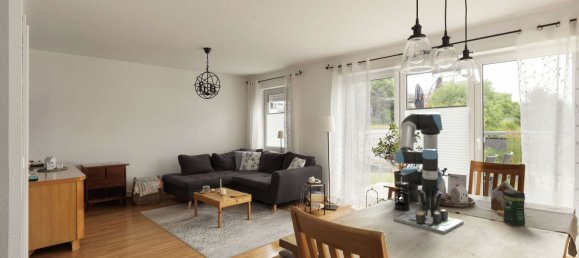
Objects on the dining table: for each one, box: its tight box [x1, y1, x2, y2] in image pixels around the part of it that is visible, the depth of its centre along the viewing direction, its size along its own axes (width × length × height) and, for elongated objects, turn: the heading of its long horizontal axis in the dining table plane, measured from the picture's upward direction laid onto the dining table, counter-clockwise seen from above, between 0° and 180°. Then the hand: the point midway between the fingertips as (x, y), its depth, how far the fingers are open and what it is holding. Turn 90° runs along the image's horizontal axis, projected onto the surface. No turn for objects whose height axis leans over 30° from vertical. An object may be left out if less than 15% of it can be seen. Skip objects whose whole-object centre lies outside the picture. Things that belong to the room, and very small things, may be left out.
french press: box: [393, 172, 411, 212], centre depth 193 cm, size 12×9×23 cm
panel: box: [393, 209, 464, 235], centre depth 168 cm, size 24×28×2 cm
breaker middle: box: [433, 211, 441, 222], centre depth 164 cm, size 4×3×4 cm
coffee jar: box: [502, 188, 526, 227], centre depth 163 cm, size 10×8×19 cm
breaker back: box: [438, 208, 449, 219], centre depth 169 cm, size 4×3×4 cm
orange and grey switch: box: [416, 213, 425, 223], centre depth 163 cm, size 4×3×4 cm
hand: (430, 222), depth 159 cm, fingers closed
